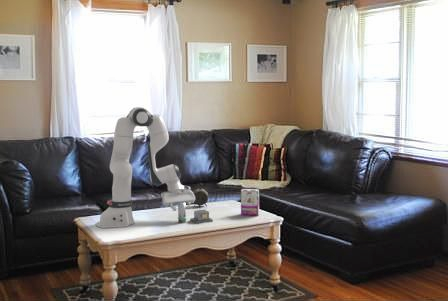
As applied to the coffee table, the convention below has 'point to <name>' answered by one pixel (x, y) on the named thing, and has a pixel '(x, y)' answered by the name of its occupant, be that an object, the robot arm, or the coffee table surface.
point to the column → (181, 212)
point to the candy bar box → (250, 202)
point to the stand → (201, 216)
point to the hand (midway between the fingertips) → (182, 209)
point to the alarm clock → (200, 196)
